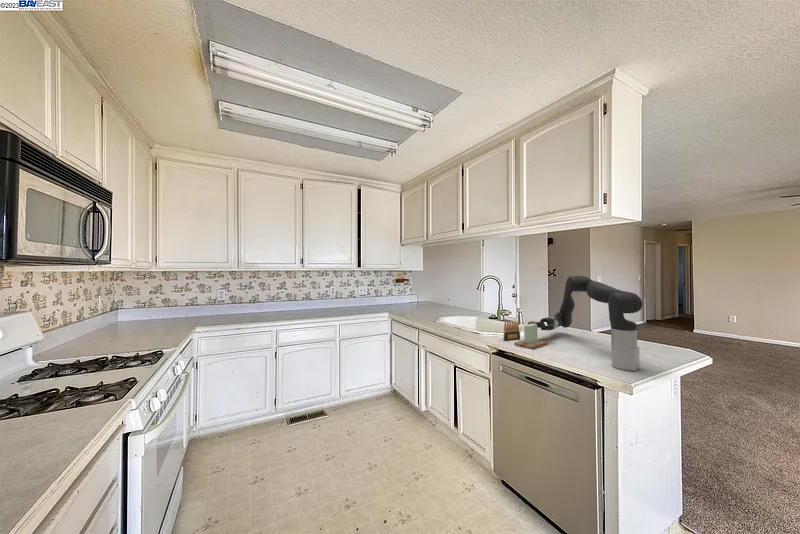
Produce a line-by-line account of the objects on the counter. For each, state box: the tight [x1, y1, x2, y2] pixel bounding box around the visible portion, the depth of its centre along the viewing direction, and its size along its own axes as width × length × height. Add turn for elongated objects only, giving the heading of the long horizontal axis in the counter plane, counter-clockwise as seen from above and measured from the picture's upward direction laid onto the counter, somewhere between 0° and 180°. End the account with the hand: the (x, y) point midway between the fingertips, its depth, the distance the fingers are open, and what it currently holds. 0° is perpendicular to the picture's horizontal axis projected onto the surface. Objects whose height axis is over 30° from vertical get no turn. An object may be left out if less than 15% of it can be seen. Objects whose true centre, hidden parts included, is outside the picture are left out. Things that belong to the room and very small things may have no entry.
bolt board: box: [513, 339, 549, 351], centre depth 171 cm, size 12×15×2 cm
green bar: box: [523, 323, 539, 344], centre depth 171 cm, size 3×8×10 cm, turn 125°
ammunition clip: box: [503, 320, 521, 342], centre depth 183 cm, size 11×2×12 cm, turn 105°
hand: (534, 327), depth 173 cm, fingers open, 8 cm apart
